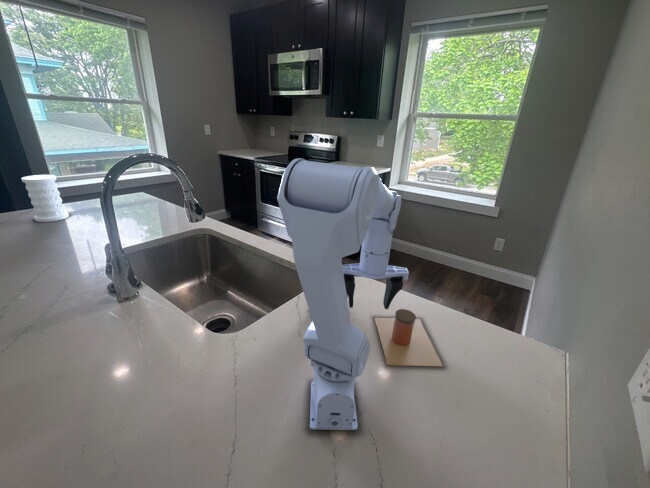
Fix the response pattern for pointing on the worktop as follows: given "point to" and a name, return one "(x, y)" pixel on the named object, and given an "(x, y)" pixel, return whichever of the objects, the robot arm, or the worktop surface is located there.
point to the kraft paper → (407, 346)
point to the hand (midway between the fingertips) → (368, 305)
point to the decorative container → (45, 198)
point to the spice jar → (403, 327)
